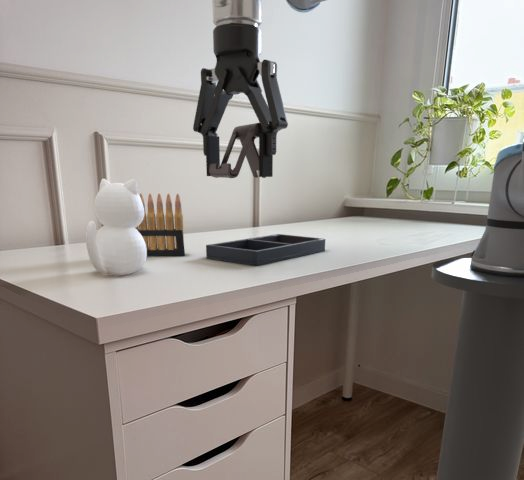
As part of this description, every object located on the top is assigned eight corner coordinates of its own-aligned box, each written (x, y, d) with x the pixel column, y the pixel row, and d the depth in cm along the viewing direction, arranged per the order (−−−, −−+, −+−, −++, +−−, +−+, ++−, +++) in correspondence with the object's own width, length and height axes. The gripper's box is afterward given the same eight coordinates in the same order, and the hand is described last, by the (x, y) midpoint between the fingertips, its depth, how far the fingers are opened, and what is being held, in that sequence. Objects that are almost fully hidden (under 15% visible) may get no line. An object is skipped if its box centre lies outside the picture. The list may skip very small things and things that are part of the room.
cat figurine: (160, 268, 91) (155, 178, 86) (118, 282, 80) (109, 180, 75) (117, 265, 94) (110, 178, 89) (70, 277, 82) (59, 179, 78)
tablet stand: (208, 177, 90) (207, 125, 87) (249, 177, 93) (249, 126, 90) (228, 178, 82) (227, 121, 80) (272, 178, 86) (272, 123, 83)
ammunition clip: (130, 256, 103) (126, 193, 99) (131, 254, 105) (127, 193, 101) (184, 255, 104) (182, 193, 100) (184, 254, 106) (182, 193, 102)
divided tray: (324, 250, 113) (325, 238, 112) (256, 265, 95) (256, 251, 94) (278, 245, 120) (278, 233, 119) (206, 258, 102) (205, 244, 101)
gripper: (167, 33, 84) (174, 175, 91) (285, 8, 71) (282, 177, 78) (198, 41, 90) (203, 175, 97) (313, 20, 77) (308, 177, 84)
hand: (238, 176), depth 88 cm, fingers closed on tablet stand, 11 cm apart
